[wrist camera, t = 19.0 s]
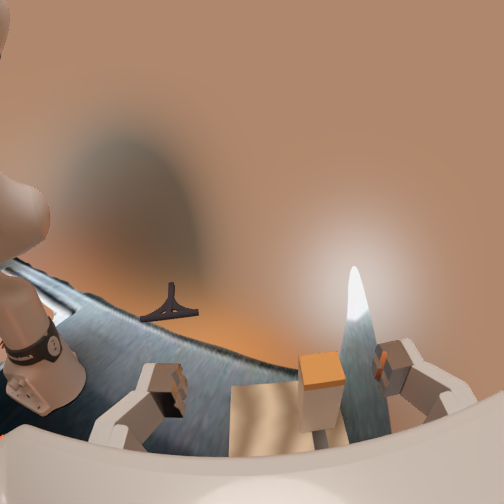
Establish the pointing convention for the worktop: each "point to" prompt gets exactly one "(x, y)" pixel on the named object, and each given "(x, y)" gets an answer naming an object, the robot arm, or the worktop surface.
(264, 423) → the subfloor panel
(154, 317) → the bracket
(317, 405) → the orange-capped beige carton
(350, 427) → the worktop surface
